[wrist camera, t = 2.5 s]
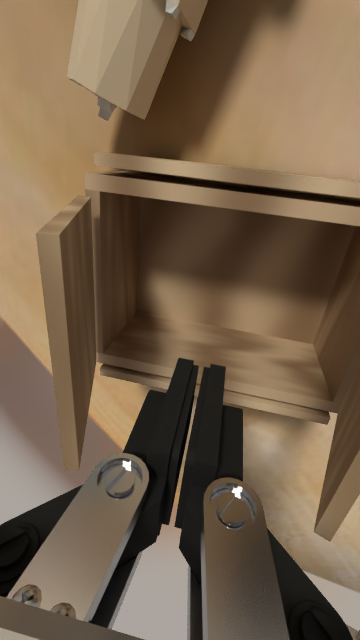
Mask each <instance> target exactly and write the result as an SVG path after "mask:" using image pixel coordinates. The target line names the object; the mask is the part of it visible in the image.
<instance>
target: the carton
mask: <svg viewBox="0 0 360 640" xmlns="http://www.w3.org/2000/svg"><path fill="white" fill-rule="evenodd" d="M94 165H95V166H104V167H112V168H120V169H128V170H130V171H109V172H88V173H85V193H86V197H91V214H92V243H93V273H94V302H95V331H96V362H100V363H104V364H103V365H102V366H101V368H100V375H103V376H108V377H112V378H117V379H121V380H126V381H130V382H135V383H139V384H144V385H149V386H153V387H158V388H162V389H167V390H168V387H169V385H170V382H171V379H172V376H173V373H174V370H175V367H176V364H177V361H178V358H184V359H189V360H194V364H193V365H198V366H199V370H198V376H197V382H196V388H195V394H194V396H198V394H199V389H200V384H201V379H202V374H203V369H204V367H209V368H210V364H215V365H220V366H225V367H226V373H225V385H224V396H223V402H226V403H231V404H235V405H240V406H244V407H249V408H253V409H258V410H263V411H267V412H272V413H276V414H281V415H285V416H290V417H294V418H299V419H304V420H308V421H313V422H317V423H322V424H326V425H327V424H328V422H329V420H330V415H329V412H333V413H338V411H339V409H340V406H341V404H342V402H343V400H344V398H345V396H346V394H347V391H348V389H349V387H350V385H351V383H352V381H353V379H354V376H355V374H356V372H357V370H358V368H359V366H360V181H353V180H344V179H335V178H327V177H318V176H310V175H301V174H292V173H284V172H275V171H267V170H258V169H249V168H241V167H232V166H224V165H215V164H206V163H198V162H189V161H181V160H172V159H164V158H155V157H146V156H137V155H125V154H113V153H101V152H94ZM135 170H136V171H135ZM143 171H144V172H143ZM151 172H152V173H151ZM159 173H160V174H159ZM167 174H168V175H167ZM176 175H177V176H176ZM184 176H185V177H184ZM192 177H193V178H192ZM200 178H201V179H200ZM208 179H209V180H208ZM216 180H217V181H216ZM224 181H225V182H224ZM232 182H233V183H232ZM240 183H241V184H240ZM249 184H250V185H249ZM257 185H258V186H257ZM265 186H266V187H265ZM273 187H274V188H273ZM281 188H282V189H281ZM289 189H290V190H289ZM297 190H298V191H297ZM305 191H306V192H305ZM313 192H314V193H313ZM321 193H323V194H321ZM330 194H331V195H330ZM338 195H339V196H338ZM346 196H347V197H346ZM354 197H355V198H354ZM328 411H329V412H328Z"/></svg>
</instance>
